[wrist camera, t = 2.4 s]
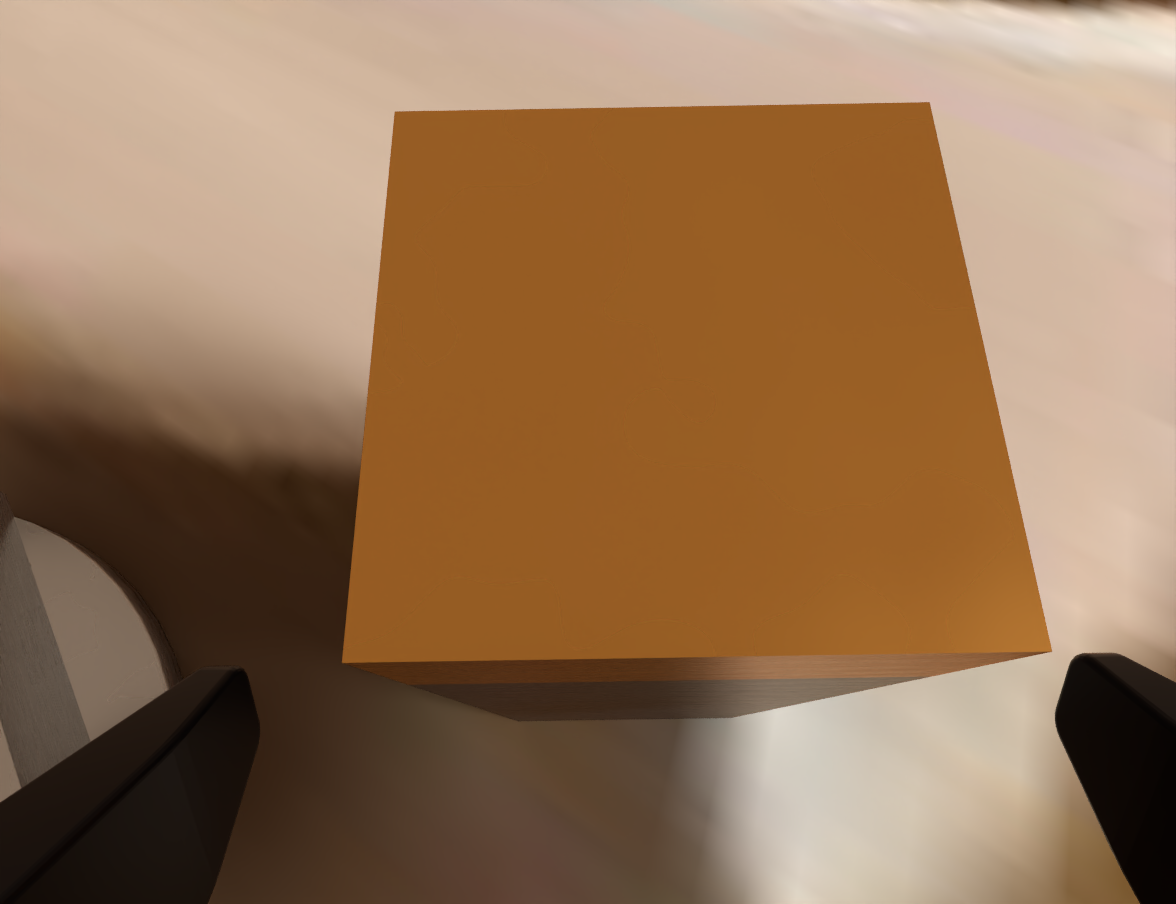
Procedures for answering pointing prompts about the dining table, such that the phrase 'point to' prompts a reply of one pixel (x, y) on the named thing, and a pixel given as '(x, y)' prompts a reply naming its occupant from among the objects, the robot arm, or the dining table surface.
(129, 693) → the square socket
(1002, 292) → the dining table surface
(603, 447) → the orange square peg
